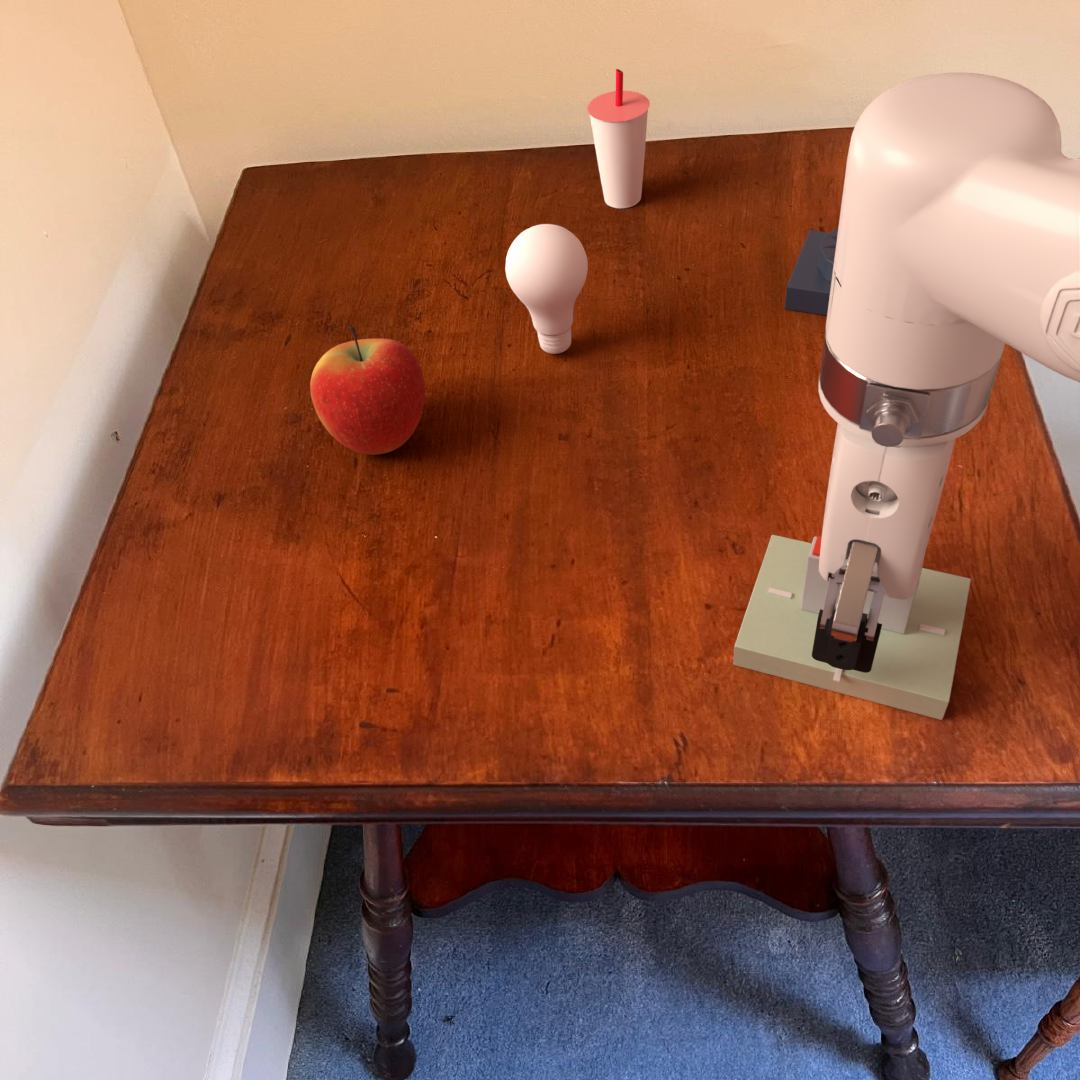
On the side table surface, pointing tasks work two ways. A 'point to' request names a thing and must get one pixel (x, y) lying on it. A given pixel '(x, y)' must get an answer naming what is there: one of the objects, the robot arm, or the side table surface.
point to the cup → (620, 143)
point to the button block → (813, 274)
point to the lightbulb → (548, 280)
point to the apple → (369, 394)
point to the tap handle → (816, 589)
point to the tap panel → (900, 659)
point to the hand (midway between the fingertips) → (858, 595)
